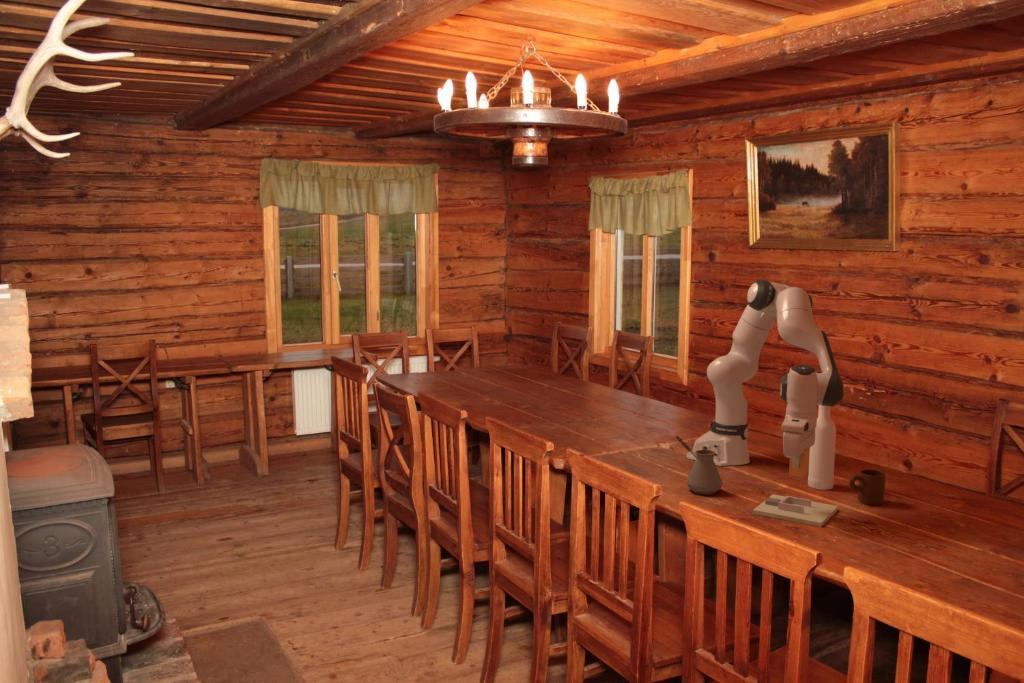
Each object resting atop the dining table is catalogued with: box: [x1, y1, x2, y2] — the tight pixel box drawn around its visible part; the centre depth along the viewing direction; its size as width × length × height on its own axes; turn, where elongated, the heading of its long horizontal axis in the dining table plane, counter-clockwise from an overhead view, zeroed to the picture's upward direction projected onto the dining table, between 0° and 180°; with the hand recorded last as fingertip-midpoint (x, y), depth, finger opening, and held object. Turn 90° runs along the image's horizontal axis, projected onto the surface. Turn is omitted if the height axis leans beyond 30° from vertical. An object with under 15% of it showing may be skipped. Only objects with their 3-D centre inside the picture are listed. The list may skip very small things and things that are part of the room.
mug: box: [848, 469, 886, 506], centre depth 278 cm, size 12×8×9 cm, turn 108°
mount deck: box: [752, 494, 839, 528], centre depth 270 cm, size 20×18×3 cm
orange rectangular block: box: [788, 448, 810, 478], centre depth 268 cm, size 4×4×8 cm
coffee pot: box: [672, 435, 723, 495], centre depth 293 cm, size 21×12×15 cm, turn 27°
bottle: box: [807, 405, 837, 491], centre depth 293 cm, size 8×8×30 cm
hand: (799, 465), depth 268 cm, fingers closed on orange rectangular block, 4 cm apart
